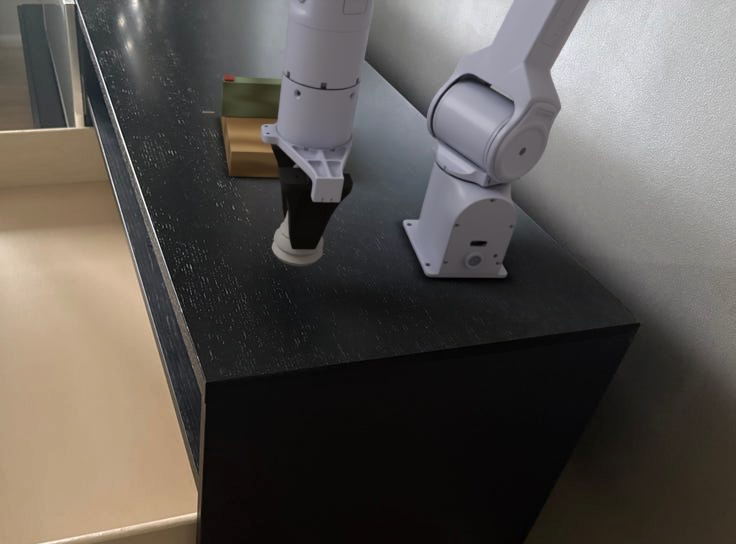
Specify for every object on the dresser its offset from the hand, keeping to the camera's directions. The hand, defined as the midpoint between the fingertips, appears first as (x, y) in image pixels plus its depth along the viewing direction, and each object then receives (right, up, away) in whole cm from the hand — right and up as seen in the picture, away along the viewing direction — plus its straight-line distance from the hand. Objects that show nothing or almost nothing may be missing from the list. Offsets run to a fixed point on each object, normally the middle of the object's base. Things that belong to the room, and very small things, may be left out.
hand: (299, 233), depth 64 cm
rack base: (-3, +14, +24) cm, 28 cm away
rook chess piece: (0, -2, +1) cm, 2 cm away
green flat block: (-3, +17, +23) cm, 29 cm away
